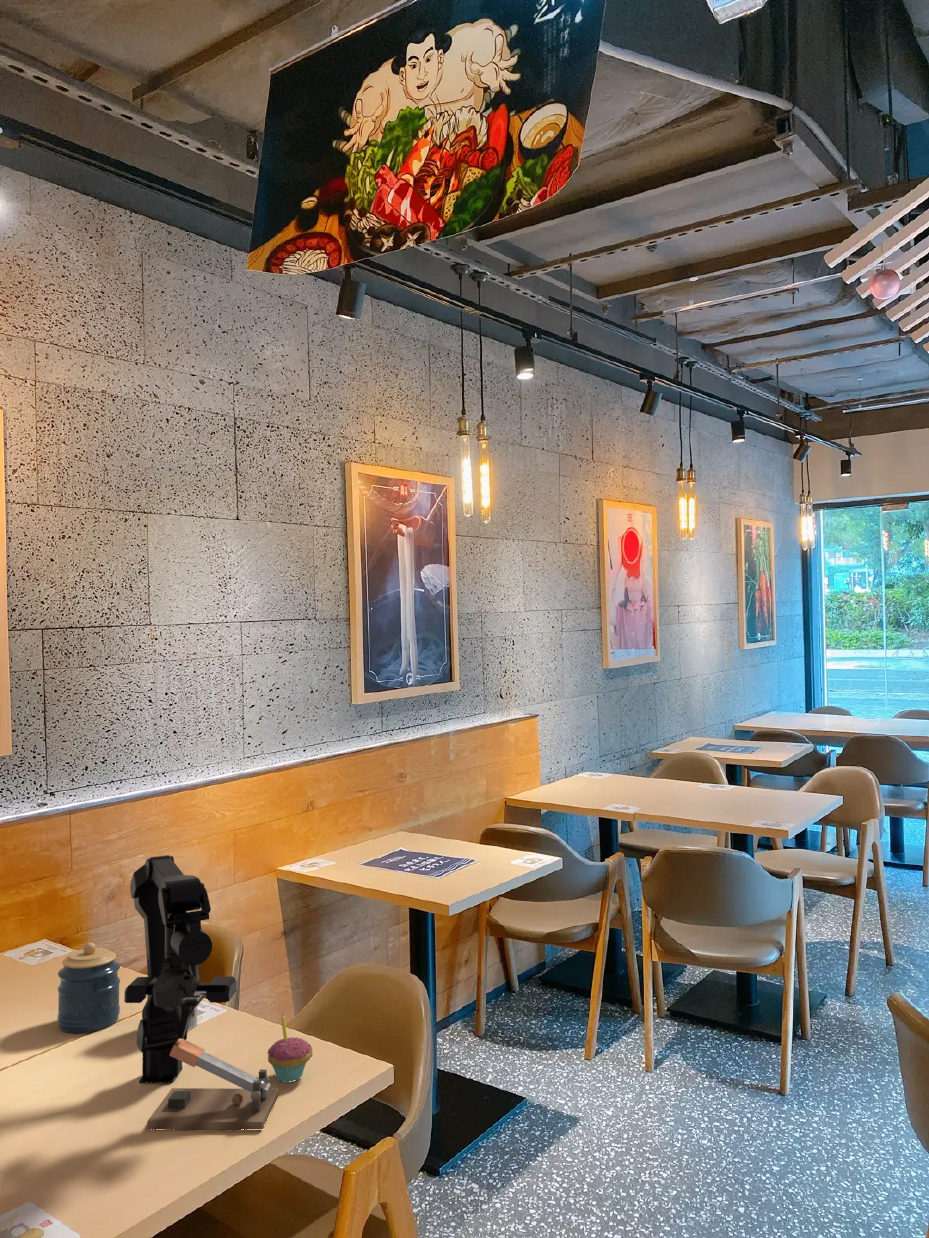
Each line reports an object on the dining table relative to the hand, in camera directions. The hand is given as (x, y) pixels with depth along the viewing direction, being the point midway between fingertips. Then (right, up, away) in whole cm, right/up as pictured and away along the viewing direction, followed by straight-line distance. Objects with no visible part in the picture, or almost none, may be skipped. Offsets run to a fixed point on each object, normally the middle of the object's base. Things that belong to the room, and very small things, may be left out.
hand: (181, 1037), depth 162 cm
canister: (-33, -16, +40) cm, 54 cm away
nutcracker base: (+6, -13, -1) cm, 15 cm away
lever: (+7, -6, -1) cm, 9 cm away
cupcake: (+17, -14, +13) cm, 25 cm away
